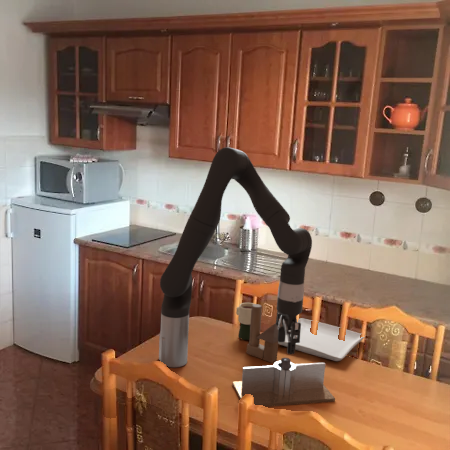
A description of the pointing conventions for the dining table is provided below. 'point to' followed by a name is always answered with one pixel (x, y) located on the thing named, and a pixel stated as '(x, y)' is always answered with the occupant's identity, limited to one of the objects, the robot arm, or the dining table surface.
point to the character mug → (244, 320)
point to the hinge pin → (285, 363)
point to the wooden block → (262, 337)
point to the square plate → (324, 341)
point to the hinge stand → (284, 384)
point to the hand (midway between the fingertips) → (285, 347)
